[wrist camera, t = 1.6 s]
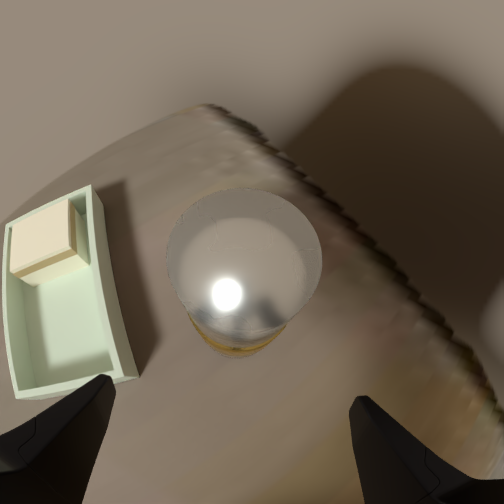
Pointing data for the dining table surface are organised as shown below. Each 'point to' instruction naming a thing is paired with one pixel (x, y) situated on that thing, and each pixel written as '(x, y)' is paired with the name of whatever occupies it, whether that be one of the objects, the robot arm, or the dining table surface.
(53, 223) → the butter box
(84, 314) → the tote
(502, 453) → the dining table surface
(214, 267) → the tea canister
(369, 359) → the dining table surface
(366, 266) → the dining table surface
